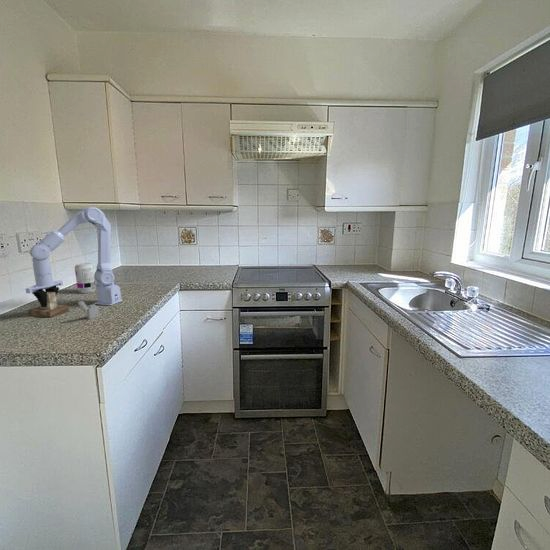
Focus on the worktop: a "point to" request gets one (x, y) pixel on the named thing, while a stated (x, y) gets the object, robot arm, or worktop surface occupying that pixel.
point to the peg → (50, 301)
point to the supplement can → (85, 278)
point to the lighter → (90, 310)
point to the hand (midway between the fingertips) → (48, 305)
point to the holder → (48, 311)
